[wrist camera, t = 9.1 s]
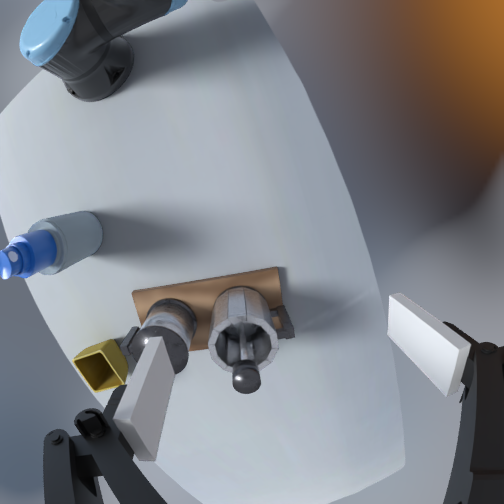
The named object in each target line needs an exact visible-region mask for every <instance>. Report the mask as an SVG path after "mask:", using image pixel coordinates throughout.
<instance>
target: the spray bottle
mask: <svg viewBox="0 0 504 504" xmlns="http://www.w3.org/2000/svg"><path fill="white" fill-rule="evenodd" d="M102 238H103V231H102V227H101V224H100V222H99V220H98V219H97V217H96V216H94V215H93V214H92V213H90V212H87V211H79V212H75V213H70V214H65V215H60V216H55V217H51V218H46V219H42V220H40V221H38V222H36V223H35V224H33V225H32V227H31V228H30V229H29V231H28V233H26V234H23V235H19V236H16V237H14V238H13V239H12V240H11V242H10V243H9V245H8V246H7V247H6V248H5V249H3V250H0V275H1V278H3V279H8V278H10V277H12V276H20V277H21V278H28V277H30V276H32V275H33V274H35V273H37V272H39V273H42V274H44V275H54V274H56V273H59V272H60V271H62V270H64V269H66V268H68V267H69V266H71V265H73V264H75V263H77V262H79V261H80V260H82V259H84V258H86V257H88V256H90V255H92V254H94V253H95V252H96V251H97V250H98V249H99V247H100V245H101V243H102Z"/></svg>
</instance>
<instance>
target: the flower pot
mask: <svg viewBox="0 0 504 504" xmlns="http://www.w3.org/2000/svg"><path fill="white" fill-rule="evenodd" d="M72 362H73V363H74V365H75V366H76V368H77V369H78V371H79V372H80V373H81V375H82V376H83V378H84V379H85V380H86V382H87V383H88V385H89V386H90V387H91V389H92V390H93V391H94V392H95V393H97V392H101V391H104V390H108V389H111V388H116V387H118V386H119V385H125V382H126V378H127V374H128V364H127V361H126V358H125V356H124V355H123V354H122V352H121V350H120V348H119V347H118V345H117V343H116V342H115V340H113V339H110V340H107V341H104V342H102V343H99V344H96V345H93V346H90V347H88V348H86V349H84V350H83V351H82V352H80V353H79V354H78V355H77V356H76V357H75V358H74V359H73V360H72Z"/></svg>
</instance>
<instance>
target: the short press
mask: <svg viewBox="0 0 504 504" xmlns="http://www.w3.org/2000/svg"><path fill="white" fill-rule="evenodd" d="M196 330H197V318H196V315H195V313H194V311H193V310H192V309H191V307H190V306H188V305H187V304H186V303H184V302H183V301H181V300H178V299H174V298H164V299H161V300H158V301H156V302H155V303H154V304H153V305H152V306H151V307H150V309H149V310H148V312H147V316H146V320H145V322H144V324H143V325H142V327H141V328H139V326H138V327H132V328H131V330H130V331H129V333H128V334H127V336H126V337H125V339H124V340H123V342H122V344H121V345H120V349H121V352H122V354H123V355H130V354H131V353H132V354H133V357H134V359H135V360H136V362H137V363H138V361H139V359H140V357H141V354H142V352H143V350H144V348H145V346H146V344H147V342H148V340H149V338H150V337H160V336H162V337H163V341H164V344H165V347H166V350H167V353H168V356H169V359H170V362H171V365H172V368H173V370H174V373H175V375H176V374H178V373H179V372H181V371H182V370H183V369H184V368H185V366H186V364H187V362H188V356H189V353H188V352H189V348H190V343H191V340H192V339H193V337H194V336H195V333H196Z"/></svg>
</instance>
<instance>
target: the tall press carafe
mask: <svg viewBox="0 0 504 504" xmlns="http://www.w3.org/2000/svg"><path fill="white" fill-rule="evenodd" d="M277 316H278V318H279V321H280V324H281V327H282V328H279V329H275V326H274V323H273V320H272V317H277ZM240 322H250V323H253V324H256V325H260V326H259V328H258V329H257V330H256V331H255V332H254V333H253V334H251V335H249V336H246V345H247V355H248V359H249V360H252V361H254V362H255V363H256V364H257V365H258V368H259V371H260V370H262V369H263V368H265V367H266V366H268V365H269V364H270V363H271V362H272V361H273V359H274V357H275V355H276V353H277V351H278V349H279V346H278V339H282V338H286V339H289V338H294V337H295V334H294V327H293V325H292V322H291V320H290V318H289V316H288V313H287V311H286V309H285V307H284V305H280V306H276V308H271V309H269V307H268V304H267V302H266V299H265V298H264V296H263V295H262V294H261V293H260V292H259V291H257V290H256V289H254V288H252V287H249V286H242V285H239V286H233V287H230V288H228V289H226V290H224V291H223V292H222V293H220V294H219V296H218V297H217V298H216V300H215V302H214V306H213V311H212V317H211V324H210V332H209V339H208V347H209V351H210V355H211V358H212V360H213V361H214V362H215V363H216V364H218V365H219V366H220V367H221V368H222V369H223V370H225V371H228V372H232V369H233V366H234V364H235V363H236V362H238V361H240V360H241V347H240V337H236V336H233V335H231V334H229V333H228V332H227V331H226V330H225V328H226V327H228V326H229V325H230V324H234V323H240Z"/></svg>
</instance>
